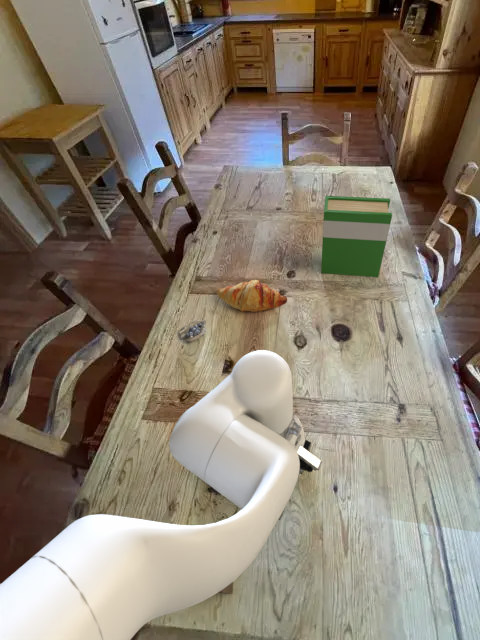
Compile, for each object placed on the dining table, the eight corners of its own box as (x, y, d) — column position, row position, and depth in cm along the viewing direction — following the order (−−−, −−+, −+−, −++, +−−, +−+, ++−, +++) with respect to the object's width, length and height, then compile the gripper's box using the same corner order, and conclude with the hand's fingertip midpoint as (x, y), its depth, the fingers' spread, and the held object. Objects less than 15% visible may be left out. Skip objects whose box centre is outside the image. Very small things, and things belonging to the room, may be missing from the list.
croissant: (217, 310, 102) (208, 306, 94) (223, 278, 105) (214, 271, 97) (286, 318, 99) (283, 314, 91) (291, 284, 102) (287, 278, 94)
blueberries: (174, 338, 92) (173, 334, 91) (192, 315, 97) (191, 311, 96) (195, 347, 90) (193, 343, 88) (212, 323, 95) (211, 319, 93)
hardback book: (377, 260, 110) (389, 198, 93) (378, 277, 105) (392, 215, 88) (322, 256, 112) (325, 195, 95) (320, 273, 107) (323, 211, 90)
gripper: (333, 419, 48) (327, 458, 59) (230, 368, 54) (243, 412, 65) (311, 474, 43) (309, 504, 55) (201, 411, 49) (220, 451, 61)
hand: (273, 454), depth 60 cm, fingers open, 9 cm apart
